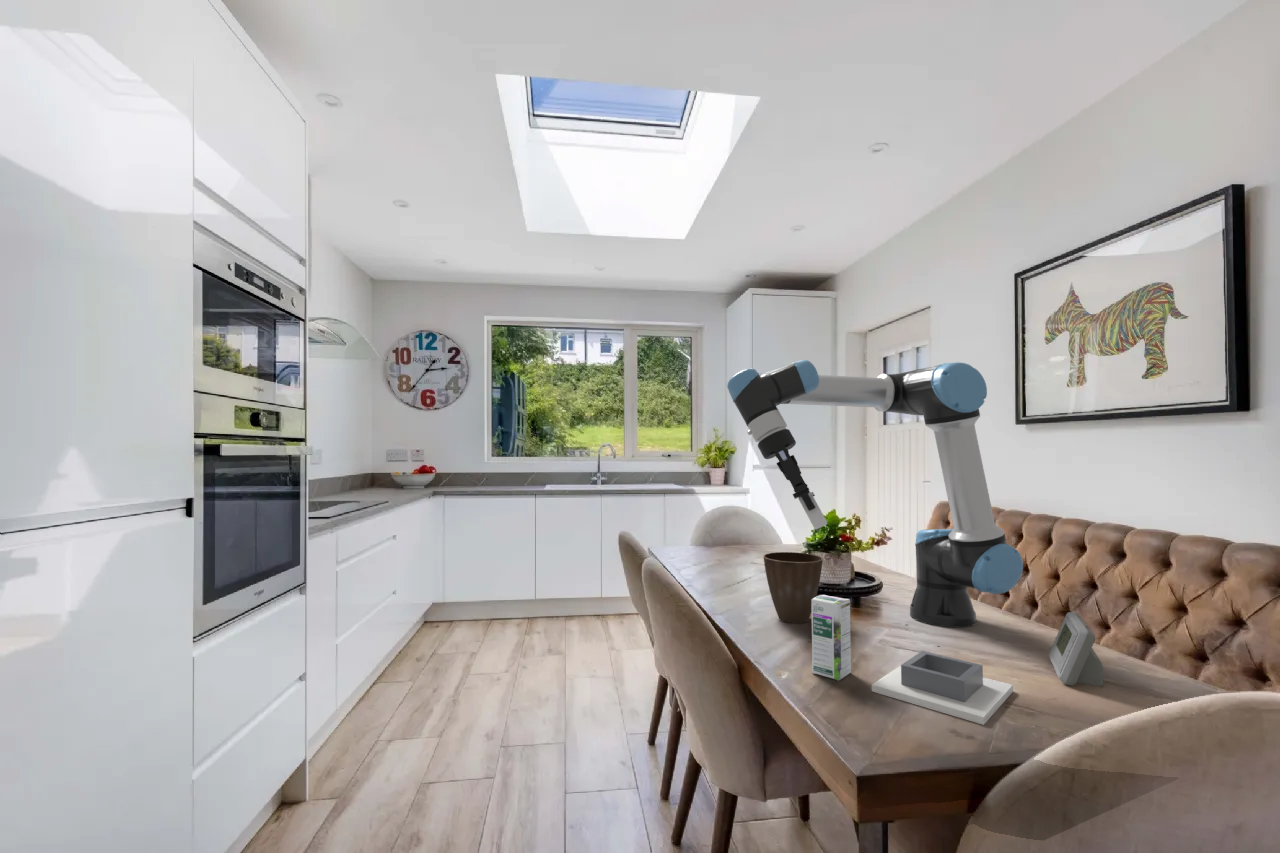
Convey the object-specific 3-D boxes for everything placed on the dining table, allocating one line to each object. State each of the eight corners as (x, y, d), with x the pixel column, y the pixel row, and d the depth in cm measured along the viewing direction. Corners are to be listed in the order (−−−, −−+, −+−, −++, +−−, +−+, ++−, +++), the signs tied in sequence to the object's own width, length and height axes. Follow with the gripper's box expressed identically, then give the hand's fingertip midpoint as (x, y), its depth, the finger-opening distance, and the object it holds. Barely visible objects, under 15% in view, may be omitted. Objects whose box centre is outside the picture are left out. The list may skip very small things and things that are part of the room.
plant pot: (761, 610, 158) (761, 551, 158) (818, 612, 156) (817, 552, 156) (766, 626, 143) (765, 561, 143) (828, 629, 141) (827, 562, 141)
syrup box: (810, 673, 113) (809, 598, 113) (824, 665, 117) (823, 593, 118) (839, 681, 109) (838, 603, 110) (852, 672, 113) (850, 597, 114)
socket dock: (909, 665, 117) (909, 641, 117) (1013, 691, 104) (1012, 665, 104) (871, 691, 104) (871, 664, 105) (983, 725, 92) (983, 694, 92)
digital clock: (1050, 658, 121) (1048, 606, 122) (1105, 668, 115) (1103, 614, 116) (1041, 682, 109) (1039, 624, 109) (1102, 695, 103) (1100, 634, 103)
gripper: (762, 452, 137) (806, 534, 130) (749, 434, 113) (801, 533, 107) (791, 437, 135) (837, 520, 129) (783, 416, 112) (839, 515, 106)
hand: (821, 526), depth 118 cm, fingers open, 13 cm apart
